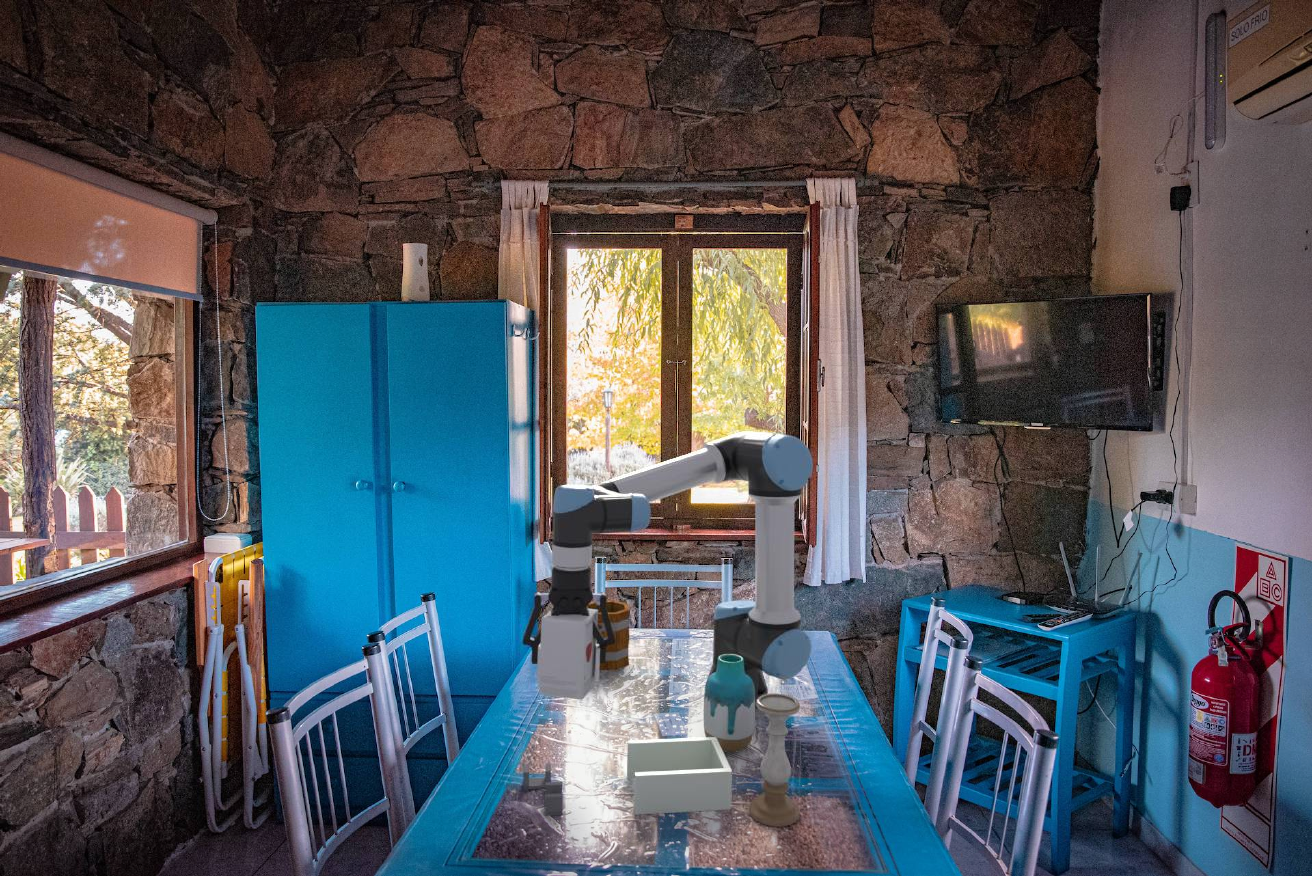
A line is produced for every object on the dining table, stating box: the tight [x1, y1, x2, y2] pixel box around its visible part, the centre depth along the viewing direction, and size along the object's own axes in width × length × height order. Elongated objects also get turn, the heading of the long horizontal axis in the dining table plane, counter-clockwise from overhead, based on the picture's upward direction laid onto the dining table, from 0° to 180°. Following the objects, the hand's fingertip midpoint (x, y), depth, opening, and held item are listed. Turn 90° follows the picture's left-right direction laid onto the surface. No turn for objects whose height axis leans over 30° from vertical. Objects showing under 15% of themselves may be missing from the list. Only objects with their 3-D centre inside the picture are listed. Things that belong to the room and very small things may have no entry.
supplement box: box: [538, 609, 598, 701], centre depth 149 cm, size 9×9×15 cm
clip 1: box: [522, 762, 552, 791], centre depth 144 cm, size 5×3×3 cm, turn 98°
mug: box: [587, 600, 631, 671], centre depth 205 cm, size 20×14×15 cm
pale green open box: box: [626, 736, 733, 816], centre depth 143 cm, size 17×13×7 cm
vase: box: [703, 654, 756, 754], centre depth 160 cm, size 11×11×19 cm
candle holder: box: [748, 693, 801, 828], centre depth 136 cm, size 9×9×20 cm
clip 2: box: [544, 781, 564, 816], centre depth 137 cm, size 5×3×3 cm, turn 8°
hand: (568, 679), depth 149 cm, fingers closed on supplement box, 10 cm apart
